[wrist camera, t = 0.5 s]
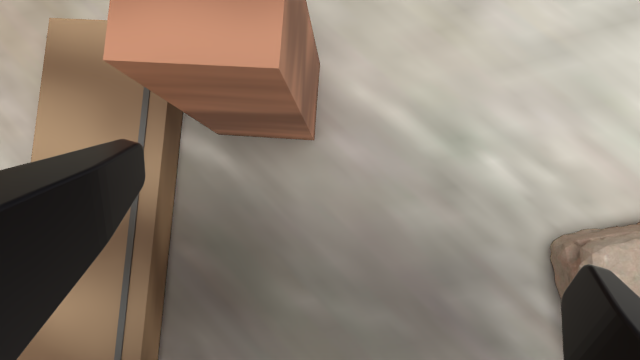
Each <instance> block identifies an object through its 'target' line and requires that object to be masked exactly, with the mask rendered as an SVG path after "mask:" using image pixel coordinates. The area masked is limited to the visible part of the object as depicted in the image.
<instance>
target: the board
mask: <svg viewBox="0 0 640 360" xmlns="http://www.w3.org/2000/svg"><path fill="white" fill-rule="evenodd" d="M107 21H108V20H87V19H62V18H49V26H48V33H47V41H46V49H45V56H44V64H43V72H42V80H41V87H40V95H39V103H38V111H37V118H36V126H35V134H34V142H33V149H32V157H31V162H34V161H38V160H42V159H46V158H50V157H53V156H57V155H61V154H65V153H69V152H72V151H76V150H80V149H84V148H88V147H92V146H95V145H99V144H103V143H107V142H111V141H114V140H118V139H127V140H130V141H134V142H138V143H140V144H141V145H142V146H143V149H144V161H145V182H144V185H143V187H142V189H141V191H140V192H139V194H138V195H137V197H136V199H135V200H134V202H133V204H132V205H131V207H130V208H129V210H128V212H127V213H126V215H125V217H124V218H123V220H122V221H121V223H120V225H119V226H118V228H117V230H116V231H115V233H114V234H113V236H112V237H111V239H110V240H109V242H108V243H107V245H106V246H105V247H104V249H103V250H102V251H101V253H100V254H99V255H98V257H97V258H96V259H95V260H94V262H93V263H92V264H91V266H90V267H89V268H88V269H87V271H86V272H85V273H84V274H83V276H82V277H81V278H80V280H79V281H78V282H77V283H76V285H75V286H74V287H73V288H72V290H71V291H70V292H69V294H68V295H67V296H66V297H65V299H64V300H63V301H62V302H61V304H60V305H59V306H58V308H57V309H56V310H55V311H54V313H53V314H52V315H51V316H50V318H49V319H48V320H47V322H46V323H45V324H44V325H43V327H42V328H41V329H40V330H39V332H38V333H37V334H36V336H35V337H34V338H33V339H32V341H31V342H30V343H29V344H28V346H27V347H26V348H25V350H24V351H23V352H22V353H21V355H20V356H19V357H18V358H17V360H158V352H159V342H160V332H161V323H162V313H163V303H164V293H165V283H166V273H167V263H168V254H169V244H170V234H171V224H172V214H173V204H174V194H175V184H176V175H177V165H178V155H179V145H180V135H181V125H182V115H183V111H181V110H180V109H178V108H177V107H175V106H174V105H172V104H170V103H169V102H167V101H166V100H164V99H163V98H161V97H160V96H158V95H156V94H155V93H153V92H152V91H150V90H149V89H147V88H146V87H144V86H142V85H141V84H139V83H138V82H136V81H135V80H133V79H132V78H130V77H128V76H127V75H125V74H124V73H122V72H121V71H119V70H118V69H116V68H115V67H113V66H111V65H110V64H108V63H107V62H105V61H104V60H103V55H104V47H105V38H106V30H107Z"/></svg>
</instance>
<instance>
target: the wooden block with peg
mask: <svg viewBox="0 0 640 360" xmlns="http://www.w3.org/2000/svg"><path fill="white" fill-rule="evenodd" d="M103 60H104V61H105V62H107V63H108V64H110V65H111V66H113V67H115V68H116V69H118V70H119V71H121V72H122V73H124V74H125V75H127V76H128V77H130V78H132V79H133V80H135V81H136V82H138V83H139V84H141V85H142V86H144V87H146V88H147V89H149V90H150V91H152V92H153V93H155V94H156V95H158V96H160V97H161V98H163V99H164V100H166V101H167V102H169V103H170V104H172V105H174V106H175V107H177V108H178V109H180V110H181V111H183V112H184V113H186V114H188V115H189V116H191V117H192V118H194V119H195V120H197V121H198V122H200V123H202V124H203V125H205V126H206V127H208V128H209V129H211V130H212V131H214V132H215V133H217V134H220V135H236V136H253V137H270V138H286V139H303V140H314V135H315V122H316V109H317V96H318V83H319V69H320V62H319V58H318V53H317V48H316V44H315V39H314V35H313V30H312V26H311V21H310V16H309V12H308V7H307V3H306V0H110V4H109V13H108V21H107V30H106V38H105V47H104V55H103Z"/></svg>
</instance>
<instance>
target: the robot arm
mask: <svg viewBox="0 0 640 360" xmlns="http://www.w3.org/2000/svg"><path fill="white" fill-rule="evenodd" d="M144 182H145V161H144V149H143V146H142V145H141V144H140V143H138V142H134V141H130V140H127V139H118V140H114V141H111V142H107V143H103V144H99V145H95V146H92V147H88V148H84V149H80V150H76V151H72V152H69V153H65V154H61V155H57V156H53V157H50V158H46V159H42V160H38V161H34V162H31V163H27V164H23V165H19V166H15V167H11V168H8V169H4V170H0V360H17V358H18V357H19V356H20V355H21V353H22V352H23V351H24V350H25V348H26V347H27V346H28V344H29V343H30V342H31V341H32V339H33V338H34V337H35V336H36V334H37V333H38V332H39V330H40V329H41V328H42V327H43V325H44V324H45V323H46V322H47V320H48V319H49V318H50V316H51V315H52V314H53V313H54V311H55V310H56V309H57V308H58V306H59V305H60V304H61V302H62V301H63V300H64V299H65V297H66V296H67V295H68V294H69V292H70V291H71V290H72V288H73V287H74V286H75V285H76V283H77V282H78V281H79V280H80V278H81V277H82V276H83V274H84V273H85V272H86V271H87V269H88V268H89V267H90V266H91V264H92V263H93V262H94V260H95V259H96V258H97V257H98V255H99V254H100V253H101V251H102V250H103V249H104V247H105V246H106V245H107V243H108V242H109V240H110V239H111V237H112V236H113V234H114V233H115V231H116V230H117V228H118V226H119V225H120V223H121V221H122V220H123V218H124V217H125V215H126V213H127V212H128V210H129V208H130V207H131V205H132V204H133V202H134V200H135V199H136V197H137V195H138V194H139V192H140V191H141V189H142V187H143V185H144ZM561 311H562V333H563V354H564V360H640V297H639V296H638V295H637V294H636V293H635V292H633V291H632V290H631V289H630V288H629V287H628V286H627V285H626V284H625V283H624V282H623V281H622V280H620V279H619V278H618V277H617V276H616V275H615V274H614V273H613V272H612V271H610V270H609V269H606V268H602V267H599V266H595V265H591V264H587V265H584V266H583V267H582V268H581V269H580V270H579V271H578V273H577V274H576V276H575V277H574V279H573V280H572V281H571V283H570V284H569V286H568V287H567V289H566V290H565V292H564V294H563V296H562V301H561Z"/></svg>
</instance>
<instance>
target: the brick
mask: <svg viewBox="0 0 640 360" xmlns="http://www.w3.org/2000/svg"><path fill="white" fill-rule="evenodd" d="M550 249H551V256H550V260H551V263H552V265H553V268H554V272H555V283H556V286H557V289H558V292H559V295H560V298H561V301H562V296H563V294H564V292H565V290H566V289H567V287H568V286H569V284H570V283H571V281H572V280H573V279H574V277H575V276H576V274H577V273H578V271H579V270H580V269H581V268H582V267H583V266H584V265H587V264H591V265H595V266H599V267H602V268H606V269H609V270H610V271H612V272H613V273H614V274H615V275H616V276H617V277H618V278H619V279H620V280H622V281H623V282H624V283H625V284H626V285H627V286H628V287H629V288H630V289H631V290H632V291H633V292H635V293H636V294H637V295H638V296H639V297H640V222H639V223H638V224H636V225H627V226H623V227H618V226H616V227H610V228H605V229H585V230H581V231H578V232H576V233H571V234H567V235H562V236H561V237H559V238H558V239H556V240H554V241H553V243H552V244H551V246H550Z"/></svg>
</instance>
